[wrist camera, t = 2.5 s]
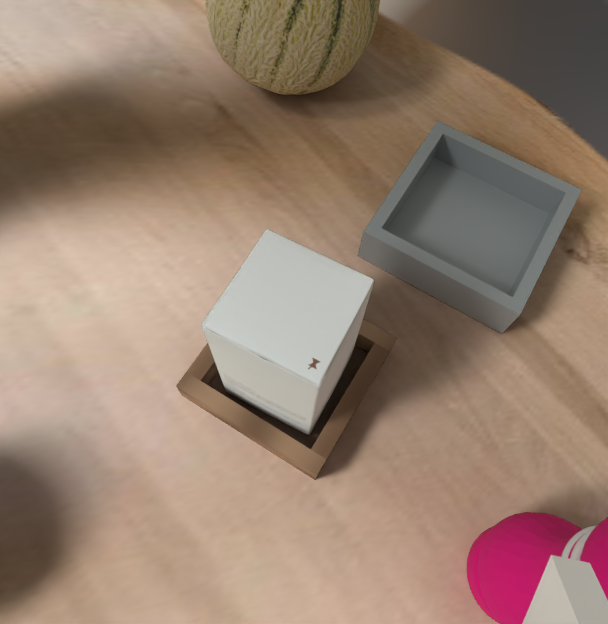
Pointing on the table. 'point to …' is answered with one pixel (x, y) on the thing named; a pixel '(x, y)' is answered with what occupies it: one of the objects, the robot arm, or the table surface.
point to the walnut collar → (269, 436)
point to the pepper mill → (529, 560)
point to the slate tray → (469, 226)
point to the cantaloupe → (292, 40)
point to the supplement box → (287, 329)
